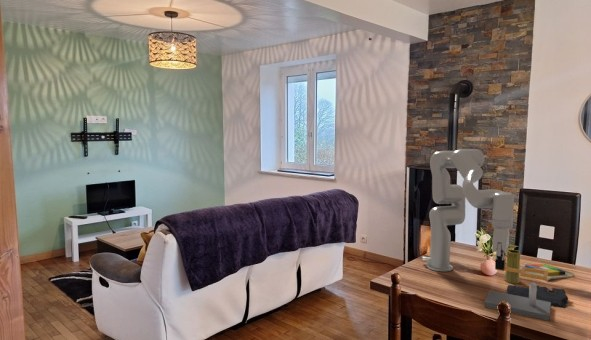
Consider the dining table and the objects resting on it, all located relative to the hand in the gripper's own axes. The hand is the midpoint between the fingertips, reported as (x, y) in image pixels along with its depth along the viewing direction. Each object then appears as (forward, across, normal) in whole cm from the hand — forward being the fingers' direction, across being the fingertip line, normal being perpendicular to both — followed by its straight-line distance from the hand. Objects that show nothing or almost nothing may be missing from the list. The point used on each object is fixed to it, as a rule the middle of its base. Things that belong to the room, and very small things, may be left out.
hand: (500, 267), depth 165 cm
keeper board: (+15, 0, +7) cm, 16 cm away
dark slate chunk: (+15, -15, +12) cm, 25 cm away
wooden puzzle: (+15, -51, +14) cm, 55 cm away
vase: (+15, -30, +2) cm, 34 cm away
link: (+1, 0, +7) cm, 7 cm away
